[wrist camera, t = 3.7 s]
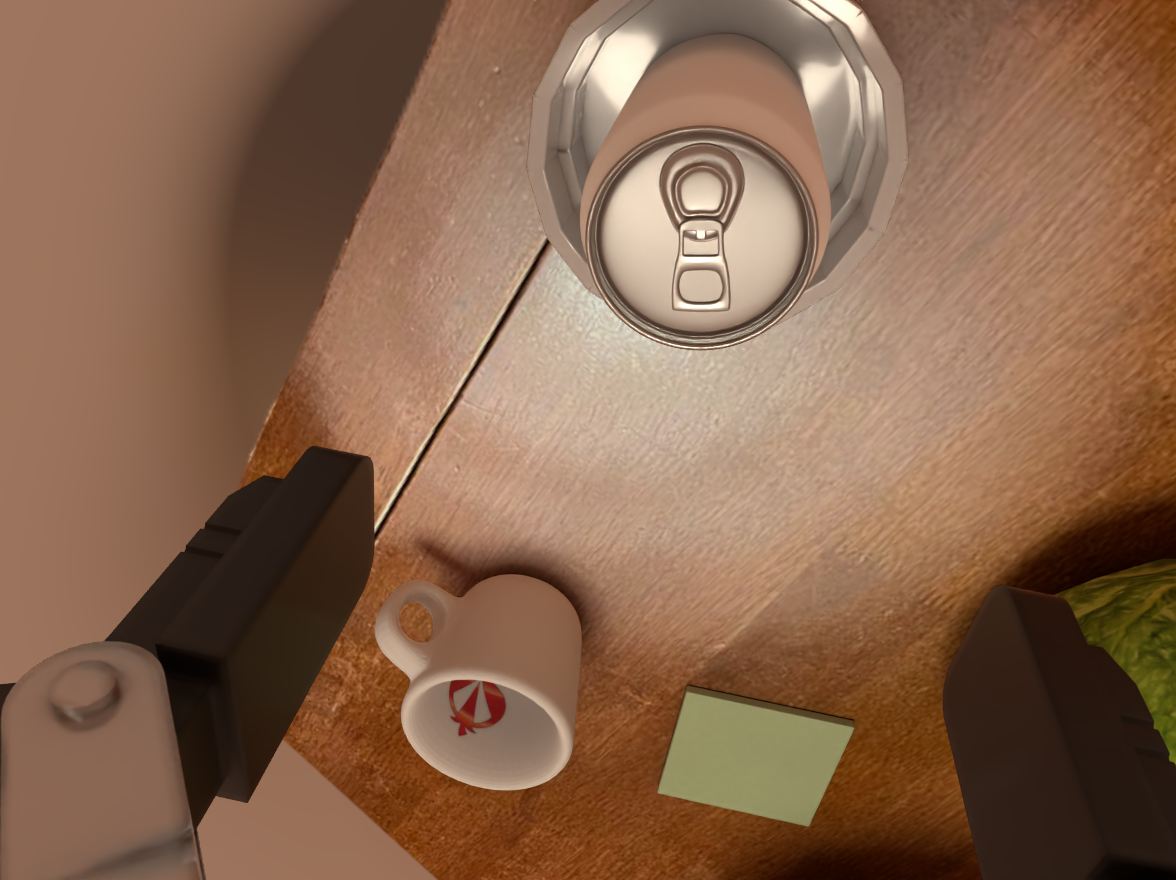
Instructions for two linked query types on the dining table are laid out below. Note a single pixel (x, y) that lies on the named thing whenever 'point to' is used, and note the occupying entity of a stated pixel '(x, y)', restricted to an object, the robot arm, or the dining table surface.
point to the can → (707, 197)
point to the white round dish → (783, 24)
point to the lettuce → (1136, 632)
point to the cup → (489, 679)
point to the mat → (752, 755)
